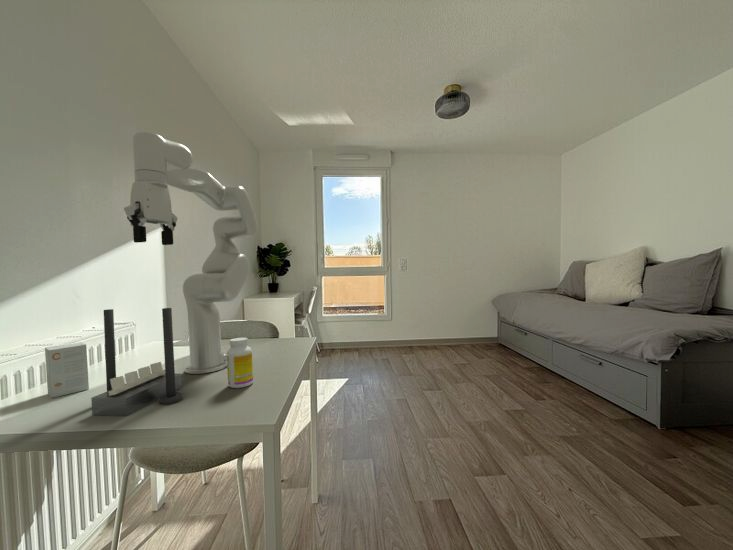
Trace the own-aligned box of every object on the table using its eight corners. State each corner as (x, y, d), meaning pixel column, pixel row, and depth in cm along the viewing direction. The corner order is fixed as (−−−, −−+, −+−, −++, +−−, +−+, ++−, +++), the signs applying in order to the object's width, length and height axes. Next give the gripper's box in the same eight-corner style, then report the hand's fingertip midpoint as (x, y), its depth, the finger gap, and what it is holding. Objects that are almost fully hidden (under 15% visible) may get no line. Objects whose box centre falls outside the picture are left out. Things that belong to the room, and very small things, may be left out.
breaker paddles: (160, 374, 93) (157, 362, 94) (167, 372, 93) (164, 360, 93) (107, 396, 78) (104, 381, 78) (116, 394, 77) (113, 379, 77)
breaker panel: (153, 387, 95) (152, 373, 95) (181, 387, 94) (181, 373, 94) (92, 415, 77) (91, 397, 77) (126, 416, 76) (125, 398, 76)
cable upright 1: (123, 394, 90) (120, 308, 90) (124, 399, 86) (120, 309, 86) (100, 399, 87) (96, 310, 87) (99, 404, 83) (95, 311, 83)
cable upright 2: (181, 395, 88) (176, 306, 87) (184, 400, 84) (179, 308, 83) (158, 400, 85) (154, 308, 84) (160, 406, 81) (156, 310, 80)
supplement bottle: (258, 382, 96) (256, 337, 96) (240, 390, 90) (238, 342, 90) (241, 379, 99) (238, 336, 99) (222, 387, 93) (220, 341, 92)
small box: (84, 385, 100) (82, 341, 99) (89, 389, 95) (86, 344, 95) (46, 393, 93) (44, 347, 93) (50, 398, 89) (47, 350, 89)
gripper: (162, 189, 101) (165, 246, 101) (110, 173, 84) (114, 241, 84) (185, 187, 100) (188, 245, 100) (137, 170, 82) (141, 240, 83)
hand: (154, 243), depth 92 cm, fingers open, 9 cm apart
